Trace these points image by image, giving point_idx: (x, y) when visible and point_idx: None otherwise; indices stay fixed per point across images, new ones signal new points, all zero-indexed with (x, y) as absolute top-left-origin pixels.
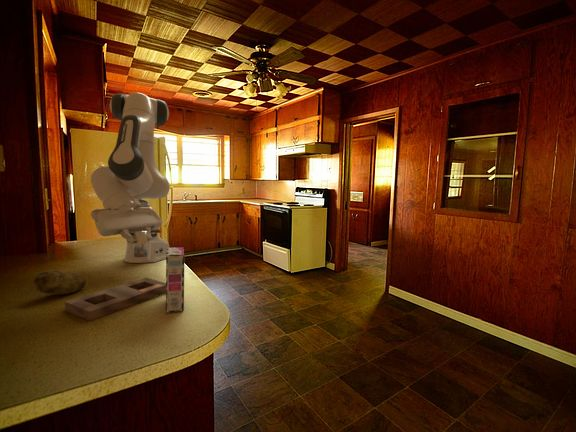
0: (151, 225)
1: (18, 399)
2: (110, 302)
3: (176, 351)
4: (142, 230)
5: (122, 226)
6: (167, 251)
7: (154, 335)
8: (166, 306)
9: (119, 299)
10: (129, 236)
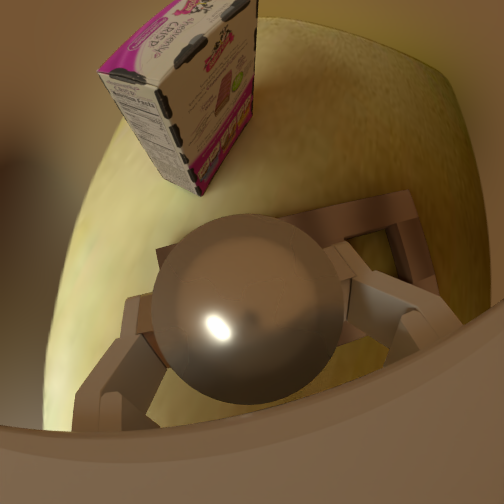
0: (39, 431)
1: (442, 77)
2: (365, 212)
3: (297, 25)
4: (202, 351)
5: (499, 320)
6: (217, 20)
7: (308, 64)
8: (252, 104)
9: (341, 217)
10: (379, 276)
